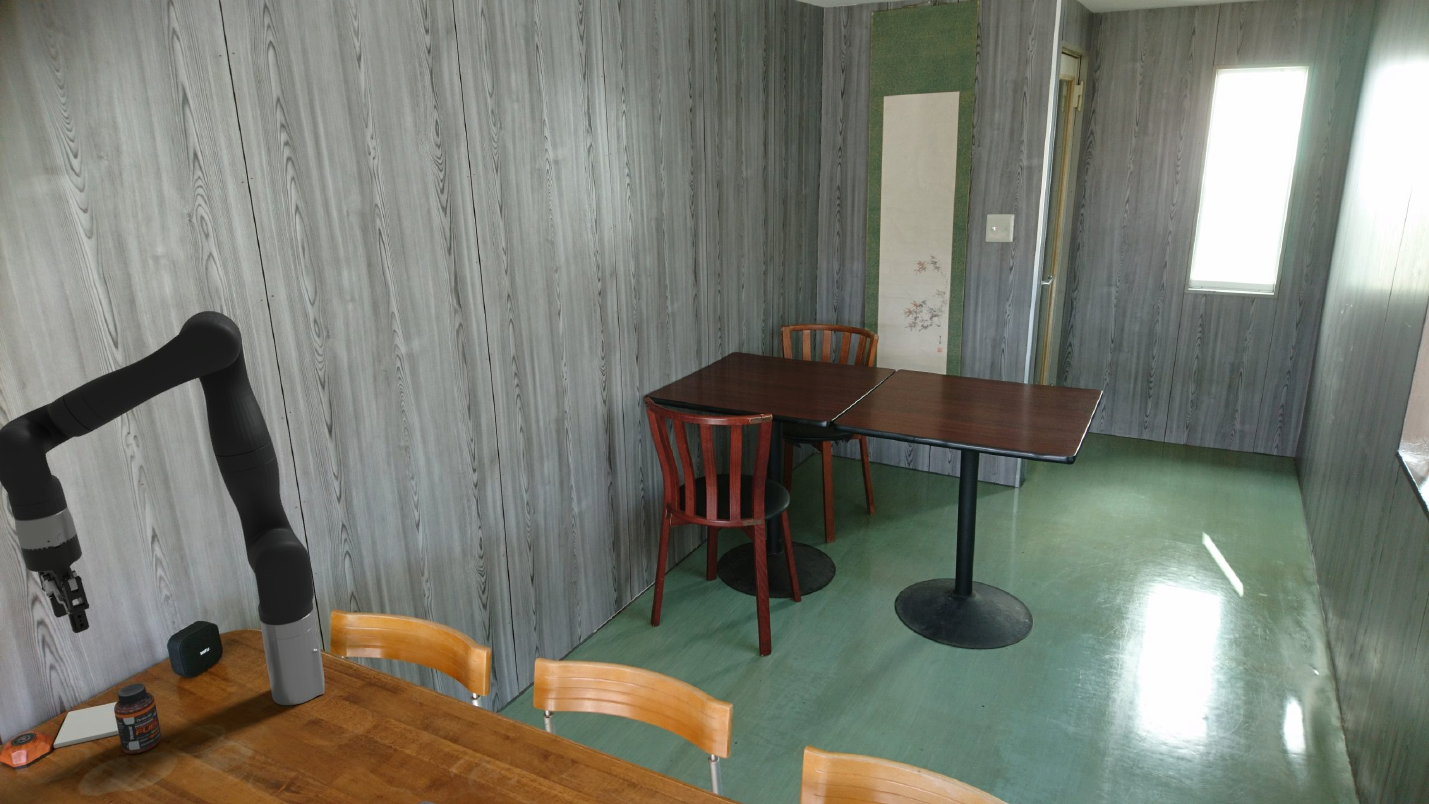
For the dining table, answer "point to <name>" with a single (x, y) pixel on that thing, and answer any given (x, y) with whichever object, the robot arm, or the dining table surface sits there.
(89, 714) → the coaster
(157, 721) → the supplement bottle
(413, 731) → the dining table surface
